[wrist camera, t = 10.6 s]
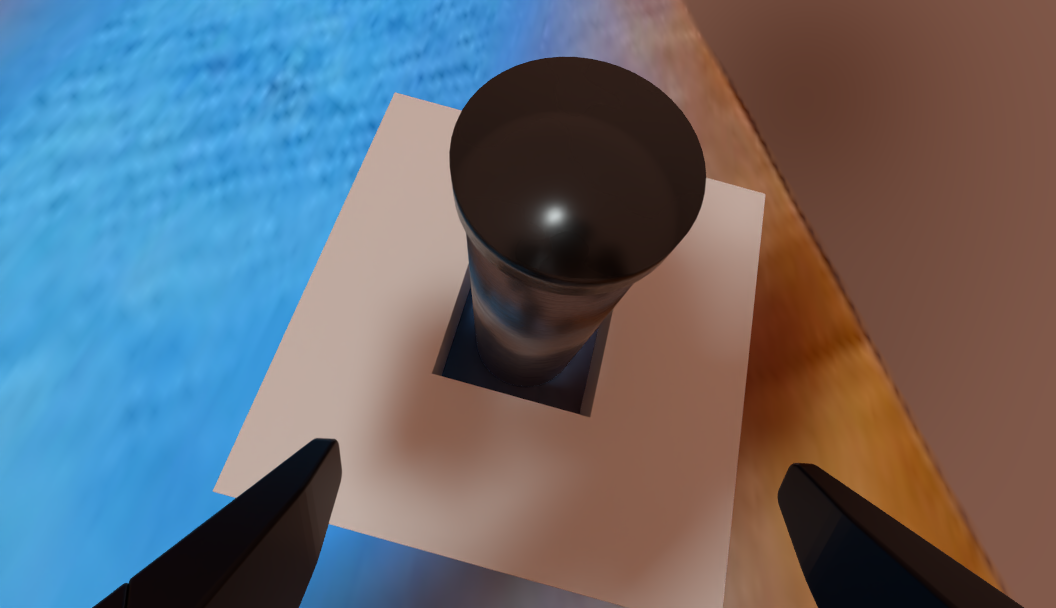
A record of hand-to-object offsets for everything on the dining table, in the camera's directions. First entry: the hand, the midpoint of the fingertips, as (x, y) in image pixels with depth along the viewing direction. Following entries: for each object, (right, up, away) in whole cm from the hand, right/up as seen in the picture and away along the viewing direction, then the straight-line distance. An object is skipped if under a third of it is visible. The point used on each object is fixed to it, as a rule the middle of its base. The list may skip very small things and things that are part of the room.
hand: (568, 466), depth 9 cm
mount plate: (-1, +2, +15) cm, 15 cm away
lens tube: (-1, +2, +15) cm, 15 cm away
